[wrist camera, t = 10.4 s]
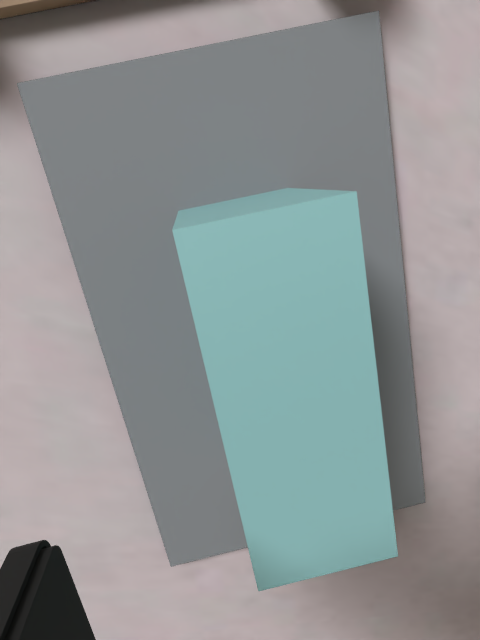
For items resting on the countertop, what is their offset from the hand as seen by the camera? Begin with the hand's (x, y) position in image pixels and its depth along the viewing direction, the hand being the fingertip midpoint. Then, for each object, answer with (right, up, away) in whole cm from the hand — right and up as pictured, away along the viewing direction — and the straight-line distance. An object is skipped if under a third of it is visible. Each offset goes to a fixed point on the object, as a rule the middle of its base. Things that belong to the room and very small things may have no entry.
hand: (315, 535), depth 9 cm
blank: (-1, +4, +9) cm, 10 cm away
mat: (-1, +4, +10) cm, 10 cm away
